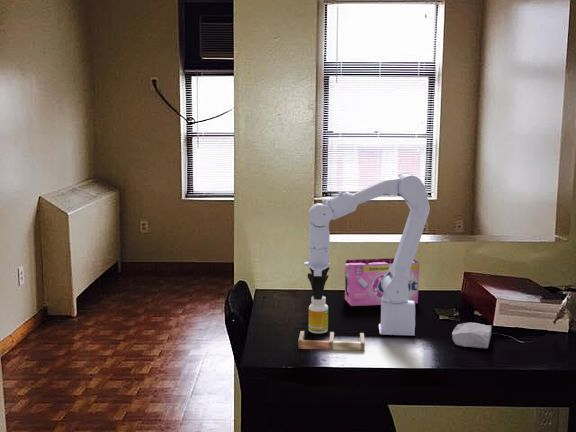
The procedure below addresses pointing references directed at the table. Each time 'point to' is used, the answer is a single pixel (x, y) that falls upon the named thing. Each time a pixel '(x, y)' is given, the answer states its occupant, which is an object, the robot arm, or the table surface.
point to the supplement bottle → (318, 316)
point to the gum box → (373, 281)
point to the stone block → (472, 335)
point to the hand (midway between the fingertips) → (318, 295)
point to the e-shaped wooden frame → (331, 343)
